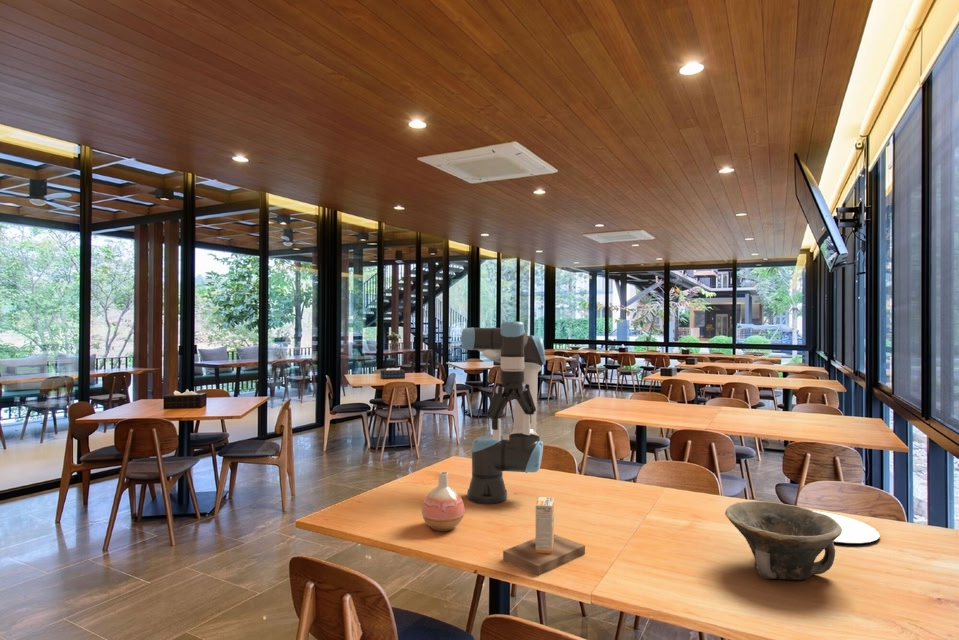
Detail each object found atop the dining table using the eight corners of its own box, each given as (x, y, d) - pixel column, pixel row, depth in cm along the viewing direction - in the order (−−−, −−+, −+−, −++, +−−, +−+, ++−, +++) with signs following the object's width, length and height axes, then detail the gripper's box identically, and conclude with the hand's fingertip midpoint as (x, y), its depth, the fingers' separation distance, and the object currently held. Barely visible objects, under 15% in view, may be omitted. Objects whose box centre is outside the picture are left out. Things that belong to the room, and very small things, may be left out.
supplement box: (552, 554, 148) (552, 506, 148) (535, 553, 149) (535, 505, 149) (554, 542, 156) (554, 497, 156) (537, 541, 157) (537, 496, 157)
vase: (431, 539, 165) (431, 480, 165) (415, 524, 177) (415, 470, 177) (471, 531, 171) (472, 475, 171) (453, 518, 183) (453, 465, 183)
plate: (867, 522, 182) (867, 517, 182) (891, 554, 156) (891, 548, 156) (769, 509, 194) (769, 504, 194) (776, 537, 168) (776, 532, 168)
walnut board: (549, 541, 164) (549, 532, 164) (585, 554, 154) (585, 545, 154) (503, 559, 150) (503, 550, 150) (538, 575, 140) (538, 566, 140)
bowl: (793, 606, 125) (793, 541, 126) (704, 561, 150) (704, 507, 150) (866, 585, 136) (866, 525, 136) (772, 546, 160) (772, 495, 161)
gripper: (529, 367, 183) (529, 430, 183) (475, 371, 166) (474, 440, 166) (546, 368, 178) (546, 433, 177) (492, 372, 161) (492, 444, 160)
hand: (512, 437), depth 172 cm, fingers open, 13 cm apart
